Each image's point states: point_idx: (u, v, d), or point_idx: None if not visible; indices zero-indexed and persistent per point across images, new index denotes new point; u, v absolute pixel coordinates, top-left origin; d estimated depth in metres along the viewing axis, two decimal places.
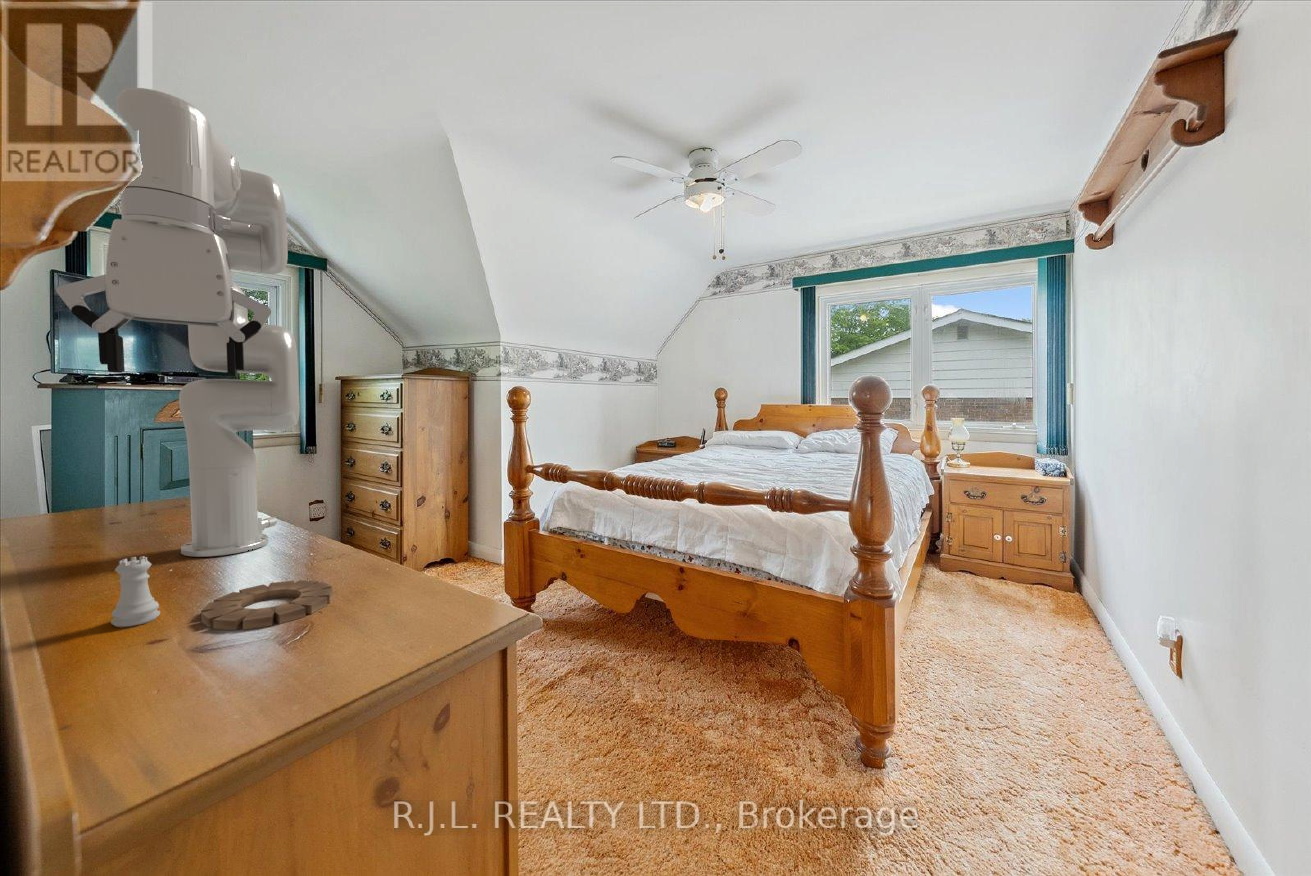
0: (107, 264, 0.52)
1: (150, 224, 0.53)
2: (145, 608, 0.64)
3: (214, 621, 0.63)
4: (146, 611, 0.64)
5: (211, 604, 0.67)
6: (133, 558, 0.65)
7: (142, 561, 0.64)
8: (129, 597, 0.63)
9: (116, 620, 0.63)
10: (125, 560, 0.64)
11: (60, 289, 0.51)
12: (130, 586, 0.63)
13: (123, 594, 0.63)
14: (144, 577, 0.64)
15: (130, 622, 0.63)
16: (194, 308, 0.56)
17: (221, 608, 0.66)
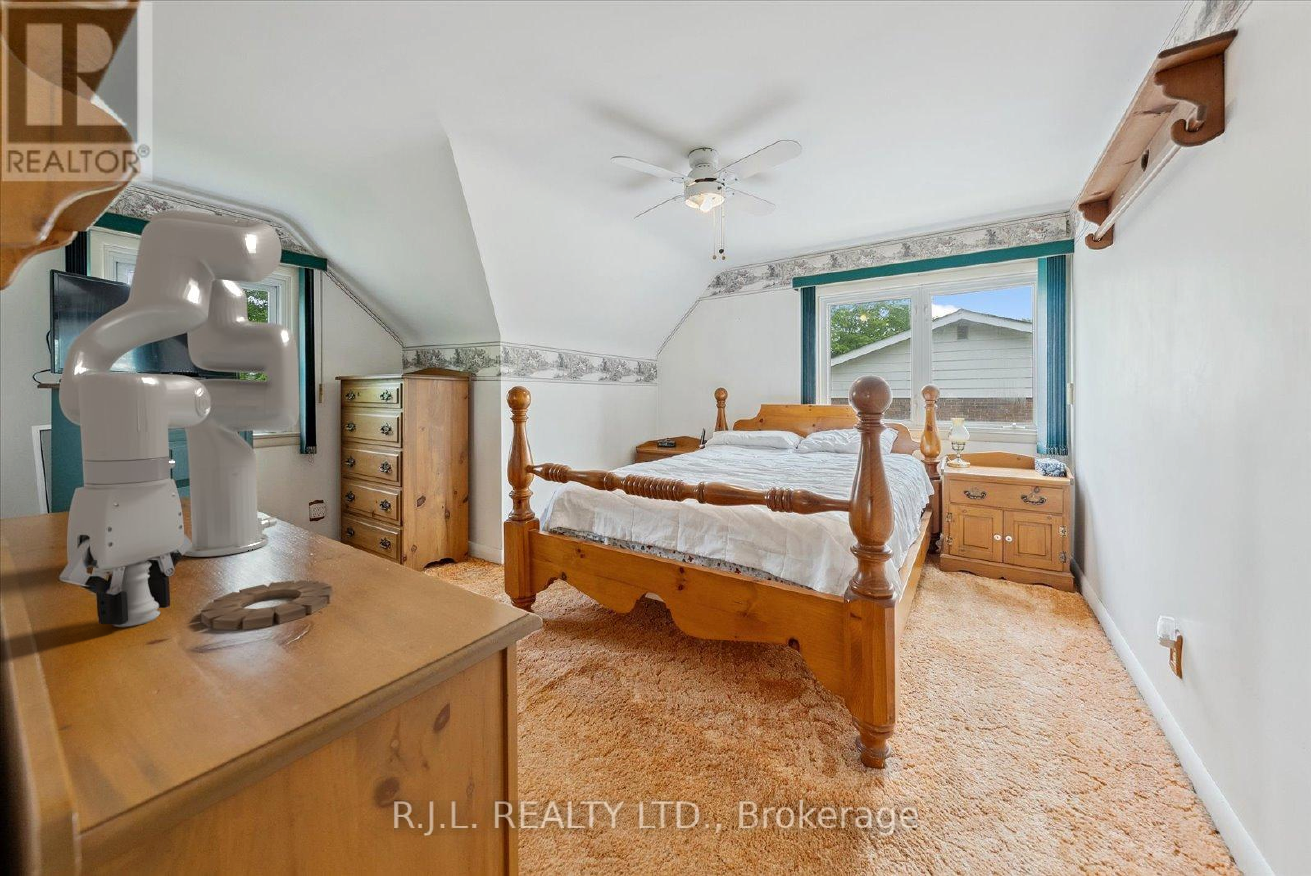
0: (100, 530, 0.59)
1: (136, 487, 0.62)
2: (145, 608, 0.64)
3: (214, 621, 0.63)
4: (146, 610, 0.64)
5: (211, 604, 0.67)
6: None
7: None
8: (129, 597, 0.63)
9: None
10: None
11: (71, 577, 0.57)
12: (130, 586, 0.63)
13: None
14: (144, 577, 0.64)
15: (129, 622, 0.63)
16: (164, 546, 0.66)
17: (221, 608, 0.66)
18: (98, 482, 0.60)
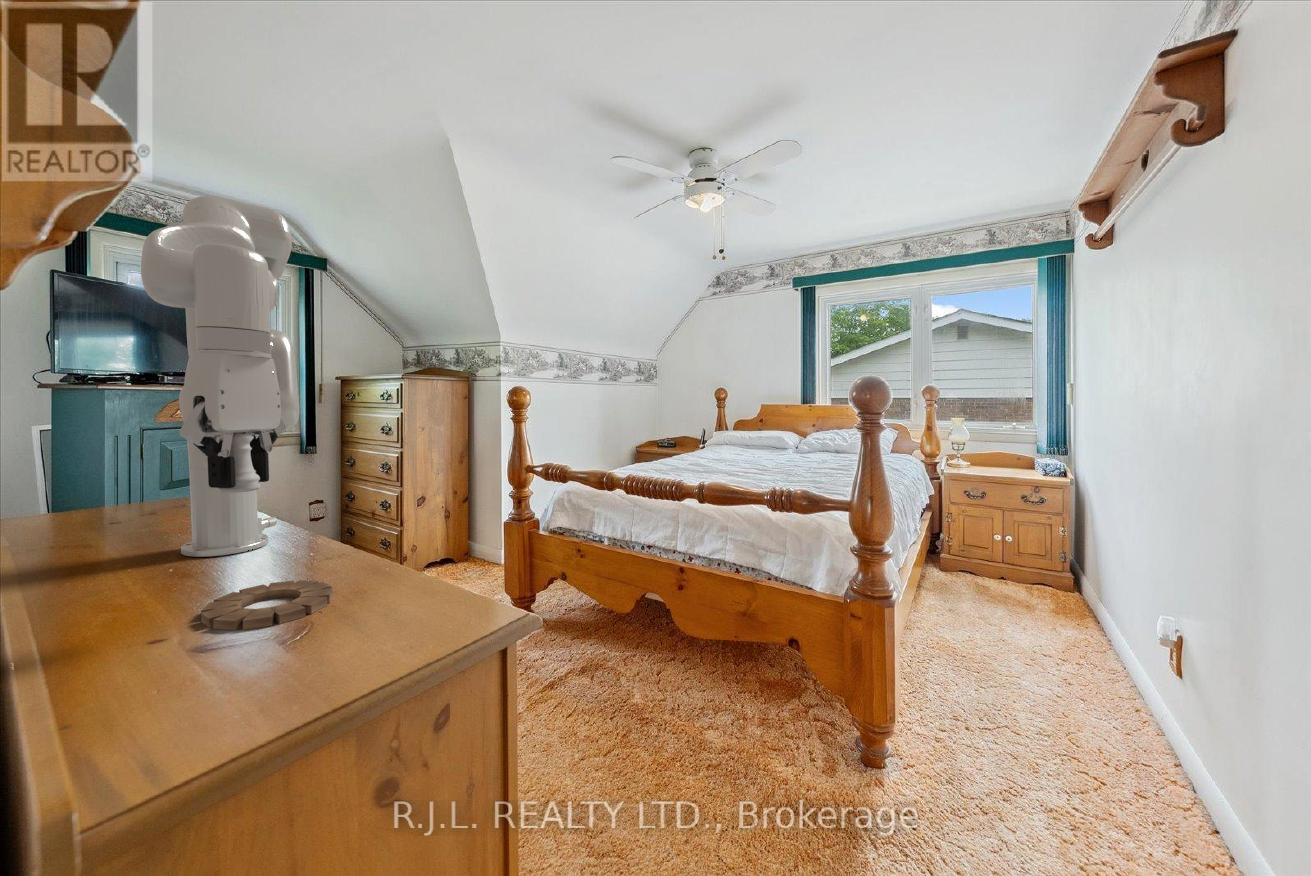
0: (215, 392, 0.62)
1: (244, 356, 0.65)
2: (249, 477, 0.67)
3: (214, 621, 0.63)
4: (250, 479, 0.67)
5: (211, 604, 0.67)
6: None
7: (246, 432, 0.67)
8: (236, 465, 0.66)
9: None
10: None
11: (190, 432, 0.60)
12: (236, 454, 0.66)
13: None
14: (248, 448, 0.67)
15: (236, 487, 0.66)
16: (265, 420, 0.69)
17: (221, 608, 0.66)
18: (211, 347, 0.63)
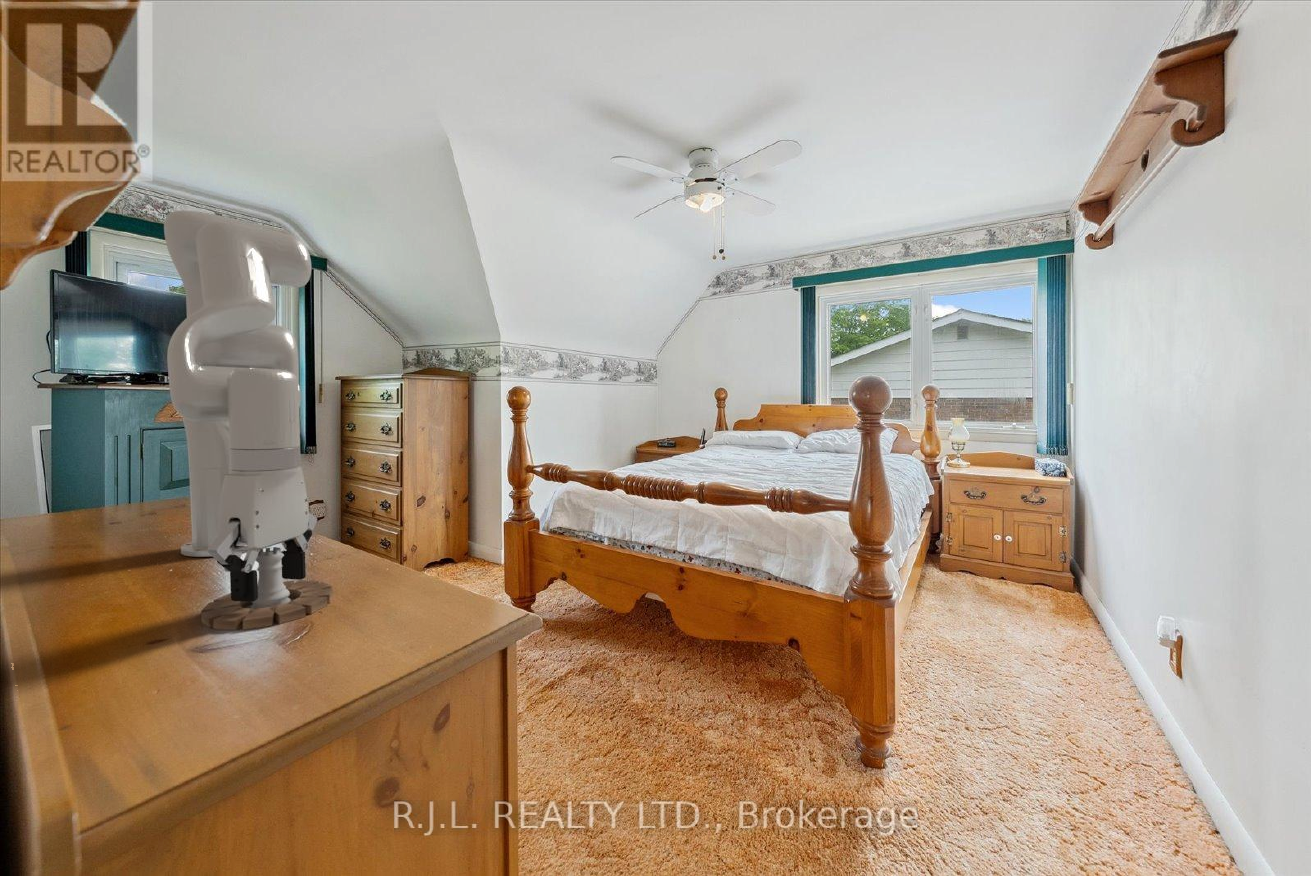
0: (250, 513, 0.64)
1: (276, 474, 0.67)
2: (280, 595, 0.69)
3: (214, 621, 0.63)
4: (281, 597, 0.69)
5: (211, 604, 0.67)
6: (268, 549, 0.70)
7: (277, 551, 0.69)
8: (267, 584, 0.68)
9: (256, 606, 0.68)
10: (262, 550, 0.69)
11: (218, 549, 0.61)
12: (268, 574, 0.68)
13: (262, 582, 0.68)
14: (279, 566, 0.70)
15: None
16: (294, 529, 0.71)
17: (221, 608, 0.66)
18: (246, 469, 0.65)
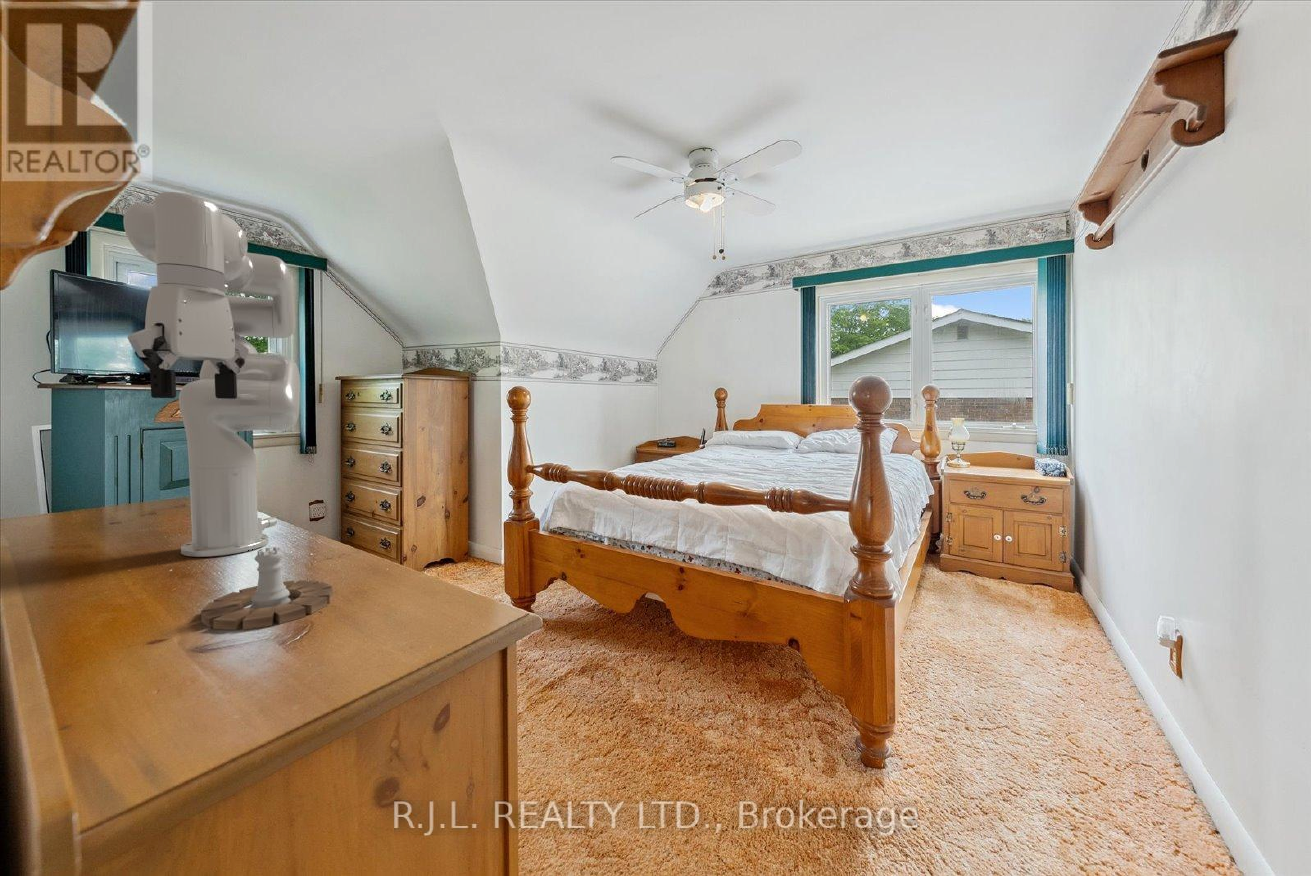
0: (173, 320, 0.71)
1: (200, 292, 0.74)
2: (280, 595, 0.69)
3: (214, 621, 0.63)
4: (281, 597, 0.69)
5: (211, 604, 0.67)
6: (268, 549, 0.70)
7: (277, 551, 0.69)
8: (267, 584, 0.68)
9: (256, 606, 0.68)
10: (262, 550, 0.69)
11: (137, 337, 0.68)
12: (268, 574, 0.68)
13: (262, 582, 0.68)
14: (279, 566, 0.70)
15: None
16: (220, 351, 0.78)
17: (221, 608, 0.66)
18: (170, 282, 0.72)
